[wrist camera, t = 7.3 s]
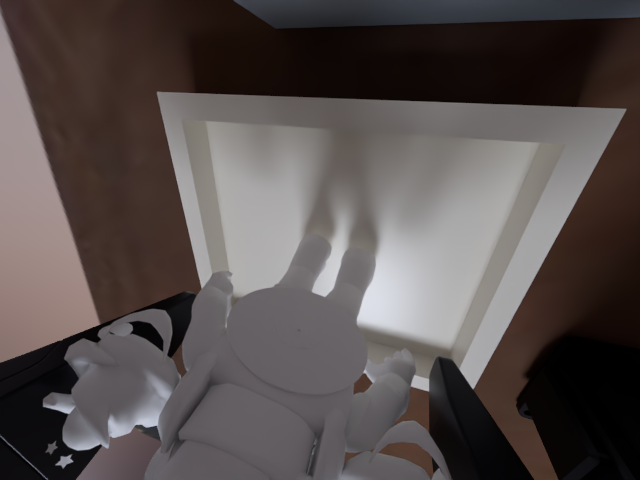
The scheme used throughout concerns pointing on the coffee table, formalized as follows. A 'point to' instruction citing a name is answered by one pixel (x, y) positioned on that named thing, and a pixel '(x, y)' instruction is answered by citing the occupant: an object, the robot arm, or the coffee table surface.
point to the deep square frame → (430, 11)
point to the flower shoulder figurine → (253, 384)
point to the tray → (387, 204)
